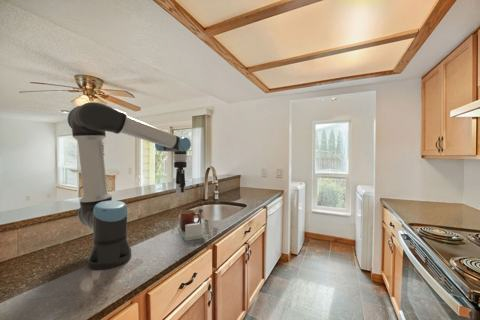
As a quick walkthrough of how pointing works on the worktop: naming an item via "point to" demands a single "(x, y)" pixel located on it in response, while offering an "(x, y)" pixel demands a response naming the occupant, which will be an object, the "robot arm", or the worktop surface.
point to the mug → (188, 218)
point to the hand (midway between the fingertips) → (180, 195)
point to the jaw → (179, 220)
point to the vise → (192, 230)
